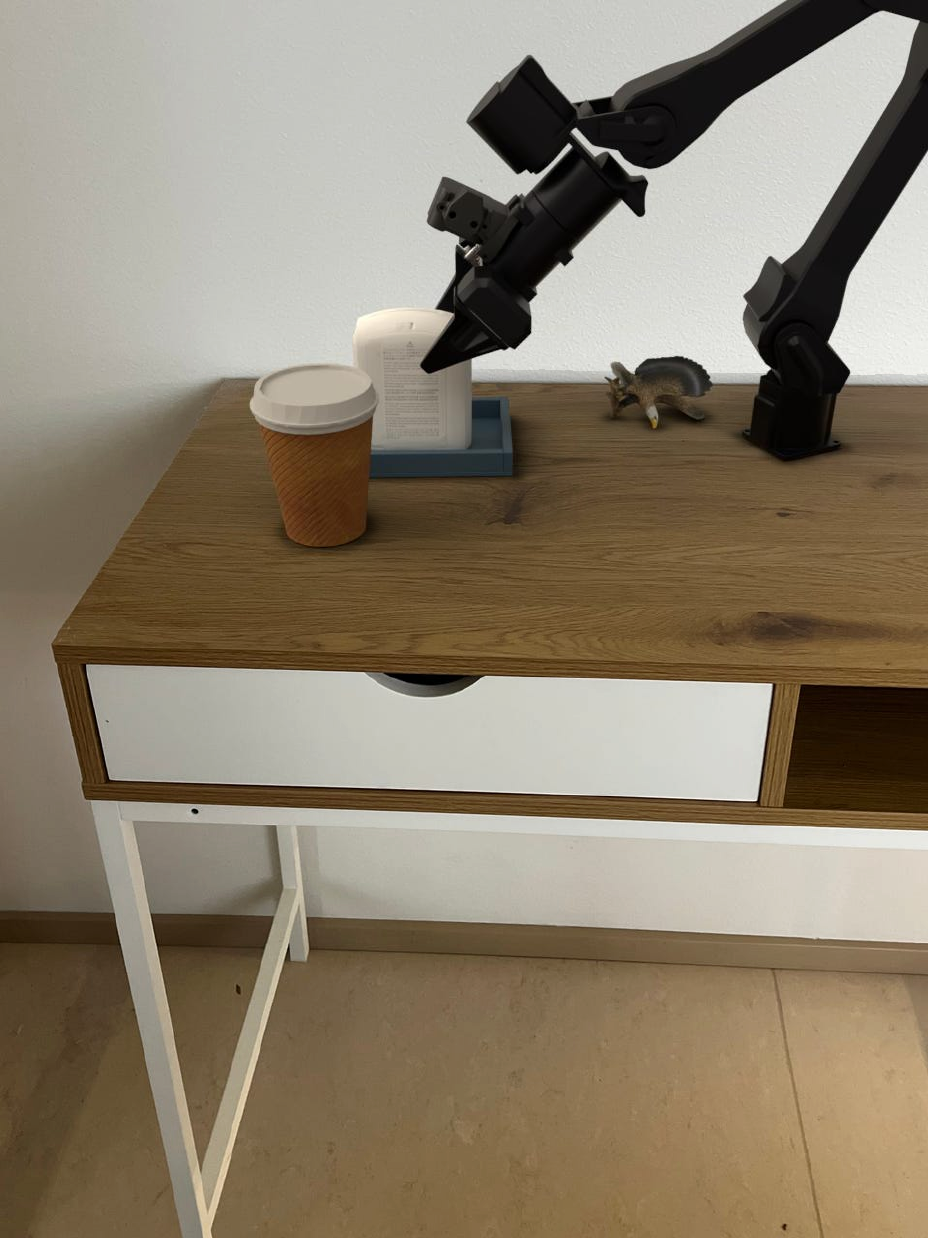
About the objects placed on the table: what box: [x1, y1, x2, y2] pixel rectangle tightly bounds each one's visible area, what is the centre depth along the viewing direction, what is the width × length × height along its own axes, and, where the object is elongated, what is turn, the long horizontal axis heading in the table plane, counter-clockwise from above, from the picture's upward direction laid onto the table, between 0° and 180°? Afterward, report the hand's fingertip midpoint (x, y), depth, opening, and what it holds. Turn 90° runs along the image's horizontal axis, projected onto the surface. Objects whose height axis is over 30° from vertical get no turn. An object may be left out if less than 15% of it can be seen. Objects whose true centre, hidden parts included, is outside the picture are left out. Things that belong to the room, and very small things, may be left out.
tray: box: [369, 396, 514, 479], centre depth 103 cm, size 18×13×2 cm
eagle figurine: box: [604, 355, 714, 429], centre depth 106 cm, size 8×7×9 cm
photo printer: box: [351, 306, 473, 451], centre depth 99 cm, size 10×4×12 cm, turn 89°
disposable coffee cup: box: [249, 362, 379, 548], centre depth 87 cm, size 10×10×12 cm
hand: (425, 350), depth 98 cm, fingers open, 9 cm apart
